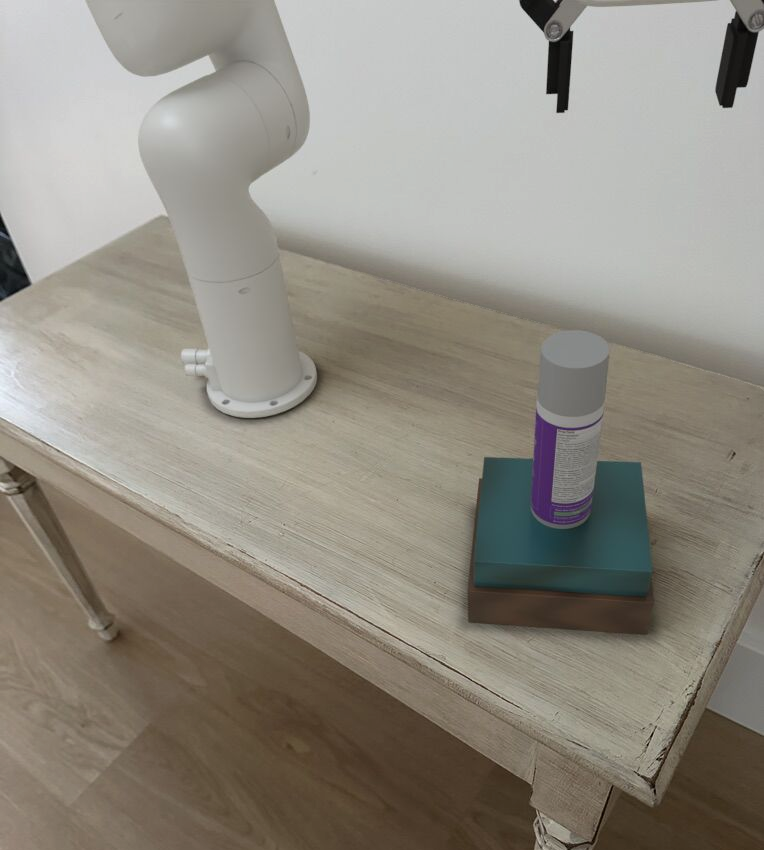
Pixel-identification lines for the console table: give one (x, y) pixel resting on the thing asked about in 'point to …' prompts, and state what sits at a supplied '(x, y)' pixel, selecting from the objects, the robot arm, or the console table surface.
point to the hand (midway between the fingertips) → (641, 102)
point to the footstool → (561, 554)
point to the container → (568, 426)
